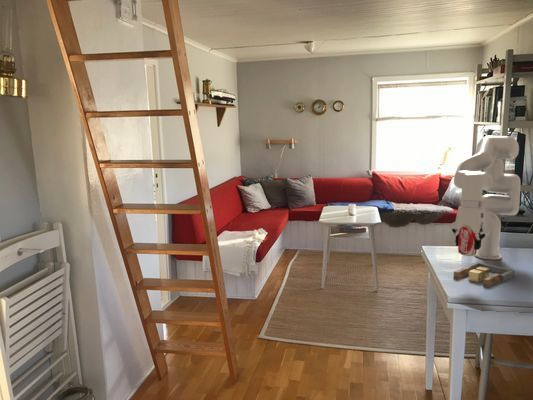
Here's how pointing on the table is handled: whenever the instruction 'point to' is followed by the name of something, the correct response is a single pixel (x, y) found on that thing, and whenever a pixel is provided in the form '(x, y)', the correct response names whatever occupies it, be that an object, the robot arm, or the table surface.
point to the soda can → (466, 241)
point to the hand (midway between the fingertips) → (467, 246)
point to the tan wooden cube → (475, 275)
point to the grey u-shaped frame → (495, 270)
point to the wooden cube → (484, 271)
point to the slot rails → (486, 281)
